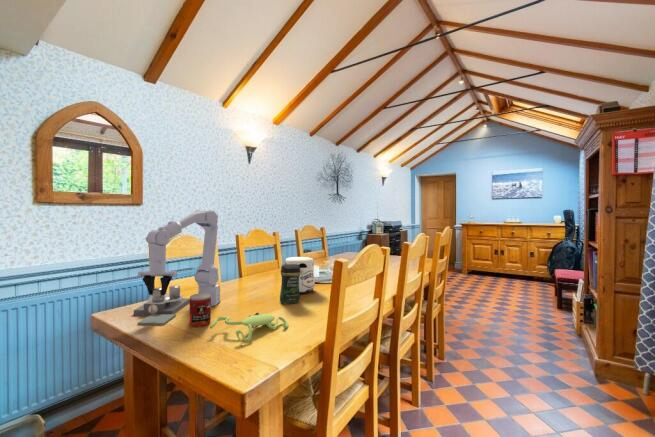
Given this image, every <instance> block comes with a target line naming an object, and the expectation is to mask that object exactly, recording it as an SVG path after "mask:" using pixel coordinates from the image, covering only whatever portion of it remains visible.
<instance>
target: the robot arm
mask: <svg viewBox="0 0 655 437" xmlns="http://www.w3.org/2000/svg"><path fill="white" fill-rule="evenodd" d="M218 220H219V215H218V214H217V212H216V211H214V210H212V209H211V210H210V209H209V210H202V209H201V210H200V209H196V210H194V211H192V212H191V213H190V214H188V215H186V216H185V217H183V218H182V219H180V220H178V221H174V220H173V221H172V220H171V221H168V222H167V224H166V225H163V226H159V227H158V229H156V230H155V229H153V230H151V231H149V232H148V233H147V235H146V237H145V240H146V242H147V244H148V248H149V269H148V270H139V271H137V277H142V282H143V283H144V285H145V287H146V289H147V292H148V295H149V296H152V289H153V288H155V278H156V277H160V278H159V280H160V285H161V286H160V287H162V295H165V294H167V292H168V291H167V290H168V288H169V285H170V283H171V281H172V279H173V278H176V277H178V271H177V270H176V271H175V270H167V257H166V256H167V244H168V243H169V242H170V240H172V239H173V238H174V237H176V236H178V235H180V234H181V233H182V231H183V229H184V228H187V227H189V226H191V225H193V224H197V225H198V226H199V227H201V228H202V229H203V230H204V238H203V247H202V255H201V256H202V257H201V263H200V265H198V266H197V267H196V272H195V274H194V280H195V282H196V283H197V284H196V285H197V286H198V289H197V290H198V291H197V292H198V293H197V294H199V293H207V294H210V295H211V307H215V306H217V305H218V304H219V303H220V302H221V287H220V284H217V283H218V281H219V273H218V271H219V268H218V267H217V266H216V265H215V255H216V246H217V237H218V229H219V228H218V227H219V226H218Z"/></svg>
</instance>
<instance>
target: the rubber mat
mask: <svg viewBox="0 0 655 437" xmlns="http://www.w3.org/2000/svg"><path fill="white" fill-rule="evenodd" d="M176 317H177V314H176V313H175V314H151V315H147V316H146V317H145V318H143V319H141V320H140V321H138V322H137V326H165V325H167V324H168V323H169V322H170V321H172V320H174V319H175V318H176Z"/></svg>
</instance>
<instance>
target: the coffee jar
mask: <svg viewBox="0 0 655 437" xmlns="http://www.w3.org/2000/svg"><path fill="white" fill-rule="evenodd" d="M300 273H301V272H300V266H299V265H298V264H285V263H284V264H281V266H280V275H281V276H280V277H281V286H280V294H279V302H280V303H281V304H284V305H291V304H298V303H300V300H301V295H300V294H301V293H299V276H300Z"/></svg>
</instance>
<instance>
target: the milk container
mask: <svg viewBox="0 0 655 437" xmlns="http://www.w3.org/2000/svg"><path fill="white" fill-rule="evenodd" d="M285 264H298V265H299V266H300V272H301V273H300V276H299V293H300V294H307V293H310V292H312V291H314V289H315V284H316V281H315V280H316V279H315V276H314V268H315V266H314V259H313V258H312V257H308V256H292V257H291V256H290V257H287V258H285V263H284V265H285Z"/></svg>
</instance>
